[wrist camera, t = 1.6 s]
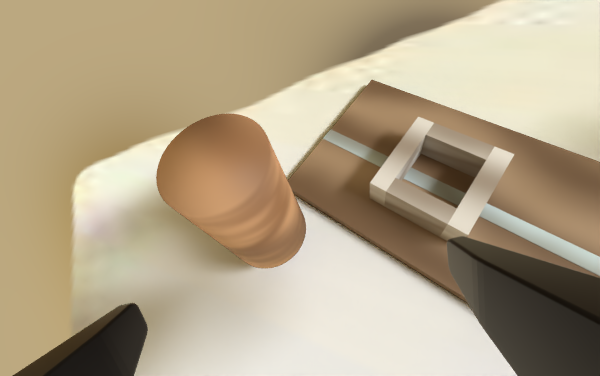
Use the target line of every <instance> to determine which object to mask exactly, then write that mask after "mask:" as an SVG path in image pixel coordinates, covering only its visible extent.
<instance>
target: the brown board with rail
mask: <svg viewBox="0 0 600 376" xmlns="http://www.w3.org/2000/svg"><path fill="white" fill-rule="evenodd" d="M288 183H289V185H290V187H291V189H292V192H293V194H295V195H296V196H298V197H299V198H301V199H302V200H304V201H306V202H307V203H309V204H310V205H312V206H314V207H315V208H317V209H318V210H320V211H322V212H323V213H325V214H326V215H328V216H330V217H331V218H333V219H334V220H336V221H338V222H339V223H341V224H342V225H344V226H346V227H347V228H349V229H350V230H352V231H353V232H355V233H357V234H358V235H360V236H361V237H363V238H365V239H366V240H368V241H369V242H371V243H373V244H374V245H376V246H377V247H379V248H381V249H382V250H384V251H385V252H387V253H389V254H390V255H392V256H393V257H395V258H397V259H398V260H400V261H401V262H403V263H405V264H406V265H408V266H409V267H411V268H412V269H414V270H416V271H417V272H419V273H420V274H422V275H424V276H425V277H427V278H428V279H430V280H432V281H433V282H435V283H436V284H438V285H440V286H441V287H443V288H444V289H446V290H448V291H449V292H451V293H452V294H454V295H456V296H457V297H459V298H460V299H462V300H463V301H465V302H467V301H466V299H465V297H464V295H463V294H462V292H461V290H460V288H459V287H458V285H457V283H456V281H455V280H454V278H453V276H452V274H451V272H450V270H449V266H448V256H447V241H448V239H450V238H455V237H460V236H464V237H468V238H471V239H474V240H478V241H481V242H484V243H487V244H491V245H494V246H497V247H501V248H504V249H507V250H510V251H514V252H517V253H520V254H524V255H527V256H530V257H533V258H537V259H540V260H543V261H547V262H550V263H553V264H556V265H560V266H563V267H566V268H570V269H573V270H576V271H579V272H583V273H586V274H589V275H593V276H596V277H599V278H600V162H598V161H596V160H593V159H590V158H587V157H584V156H582V155H579V154H576V153H573V152H571V151H568V150H565V149H562V148H560V147H557V146H554V145H551V144H549V143H546V142H543V141H540V140H537V139H535V138H532V137H529V136H526V135H524V134H521V133H518V132H515V131H513V130H510V129H507V128H504V127H501V126H499V125H496V124H493V123H490V122H488V121H485V120H482V119H479V118H477V117H474V116H471V115H468V114H465V113H463V112H460V111H457V110H454V109H452V108H449V107H446V106H443V105H441V104H438V103H435V102H432V101H429V100H427V99H424V98H421V97H418V96H416V95H413V94H410V93H407V92H405V91H402V90H399V89H396V88H393V87H391V86H388V85H385V84H382V83H380V82H377V81H374V80H371V81H370V83H369V84H368V85H367V86H366V87H365V89H364V90H363V91H362V92H361V93H360V95H359V96H358V97H357V98H356V99H355V101H354V102H353V103H352V104H351V105H350V107H349V108H348V109H347V110H346V111H345V113H344V114H343V115H342V116H341V117H340V119H339V120H338V121H337V122H336V123H335V125H334V126H333V127H332V128H331V129H330V130H329V131H328V133H327V134H326V135H325V136H324V137H323V139H322V140H321V141H320V143H319V144H318V145H317V146H316V147H315V149H314V150H313V151H312V152H311V153H310V155H309V156H308V157H307V158H306V159H305V161H304V162H303V163H302V164H301V165H300V167H299V168H298V169H297V170H296V171H295V173H294V174H293V175H292V176H291V177H290V179H289V180H288ZM467 303H468V302H467Z"/></svg>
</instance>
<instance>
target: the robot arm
mask: <svg viewBox="0 0 600 376" xmlns="http://www.w3.org/2000/svg"><path fill="white" fill-rule="evenodd" d="M447 256H448V266H449V270H450V272H451V274H452V276H453V278H454V280H455V281H456V283H457V285H458V287H459V288H460V290H461V292H462V294H463V295H464V297H465V299H466V301H467V302H468V304H469V306H470V308H471V309H472V311H473V313H474V314H475V316H476V318H477V319H478V321H479V323H480V324H481V326H482V327H483V329H484V330H485V331H486V333H487V334H488V336H489V337H490V338H491V340H492V341H493V342H494V344H495V345H496V347H497V348H498V349H499V351H500V352H501V353H502V355H503V356H504V358H505V359H506V360H507V362H508V363H509V364H510V366H511V367H512V369H513V370H514V371H515V373H516V374H517V375H518V376H600V278H599V277H596V276H593V275H589V274H586V273H583V272H579V271H576V270H573V269H570V268H566V267H563V266H560V265H556V264H553V263H550V262H547V261H543V260H540V259H537V258H533V257H530V256H527V255H524V254H520V253H517V252H514V251H510V250H507V249H504V248H501V247H497V246H494V245H491V244H487V243H484V242H481V241H478V240H474V239H471V238H468V237H464V236H460V237H455V238H450V239H448V241H447ZM147 331H148V328H147V324H146V321H145V319H144V317H143V315H142V313H141V311H140V309H139V307H138V306H137V305H136V304H135V303H130V304H125V305H121V306H118V307H117V308H115V309H114V310H112V311H111V312H109V313H108V314H106V315H105V316H103V317H101V318H100V319H98V320H97V321H95V322H94V323H92V324H91V325H89V326H88V327H86V328H85V329H83V330H82V331H80V332H79V333H77V334H76V335H74V336H72V337H71V338H69V339H68V340H66V341H65V342H63V343H62V344H61V345H59V346H57V347H56V348H54V349H53V350H51V351H50V352H48V353H47V354H45V355H44V356H42V357H40V358H39V359H37V360H36V361H35V362H33V363H31V364H30V365H28V366H27V367H25V368H24V369H22V370H21V371H19V372H18V373H16V374H15V375H13V376H134V374H135V370H136V367H137V364H138V361H139V358H140V355H141V351H142V348H143V345H144V342H145V339H146V336H147Z"/></svg>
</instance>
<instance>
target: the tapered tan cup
mask: <svg viewBox="0 0 600 376" xmlns="http://www.w3.org/2000/svg"><path fill="white" fill-rule="evenodd" d="M156 179H157V187H158V191H159V193H160V195H161V197H162V198H163V200H164V201H165V202H166V203H167V204H168V205H169V206H170V207H172V208H173V209H174V210H176V211H177V212H178V213H180V214H181V215H182V216H184V217H185V218H186V219H188V220H189V221H190V222H192V223H193V224H195V225H196V226H197V227H199V228H200V229H201V230H203V231H204V232H205V233H207V234H208V235H209V236H211V237H212V238H213V239H215V240H216V241H218V242H219V243H220V244H222V245H223V246H224V247H226V248H227V249H228V250H230V251H231V252H232V253H234V254H235V255H236V256H238V257H239V258H240V259H242V260H243V261H245V262H246V263H247V264H249V265H251V266H254V267H257V268H273V267H277V266H279V265H282V264H284V263H286V262H287V261H289V260H290V259H291V258H292V257H293V256H294V255H295V254H296V253H297V252H298V250H299V249H300V247H301V246H302V244H303V241H304V238H305V234H306V223H305V218H304V216H303V213H302V211H301V209H300V207H299V205H298V202H297V200H296V198H295V196H294V194H293V192H292V189H291V187H290V185H289V183H288V181H287V179H286V176H285V174H284V172H283V170H282V168H281V166H280V163H279V161H278V159H277V157H276V155H275V153H274V150H273V148H272V146H271V144H270V142H269V140H268V137H267V135H266V133H265V132H264V130H263V129H262V128H261V126H260V125H259V124H257V123H256V122H255V121H253V120H252V119H250V118H248V117H245V116H242V115H237V114H219V115H214V116H210V117H207V118H204V119H202V120H200V121H197V122H195V123H193V124H192V125H190V126H188V127H187V128H186V129H184V130H183V131H182V132H180V133H179V134H178V135H177V136H176V137H175V138H174V139H173V140H172V141H171V143H170V144H169V145H168V147H167V148H166V150H165V151H164V153H163V155H162V157H161V159H160V162H159V165H158V169H157V177H156Z"/></svg>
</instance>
